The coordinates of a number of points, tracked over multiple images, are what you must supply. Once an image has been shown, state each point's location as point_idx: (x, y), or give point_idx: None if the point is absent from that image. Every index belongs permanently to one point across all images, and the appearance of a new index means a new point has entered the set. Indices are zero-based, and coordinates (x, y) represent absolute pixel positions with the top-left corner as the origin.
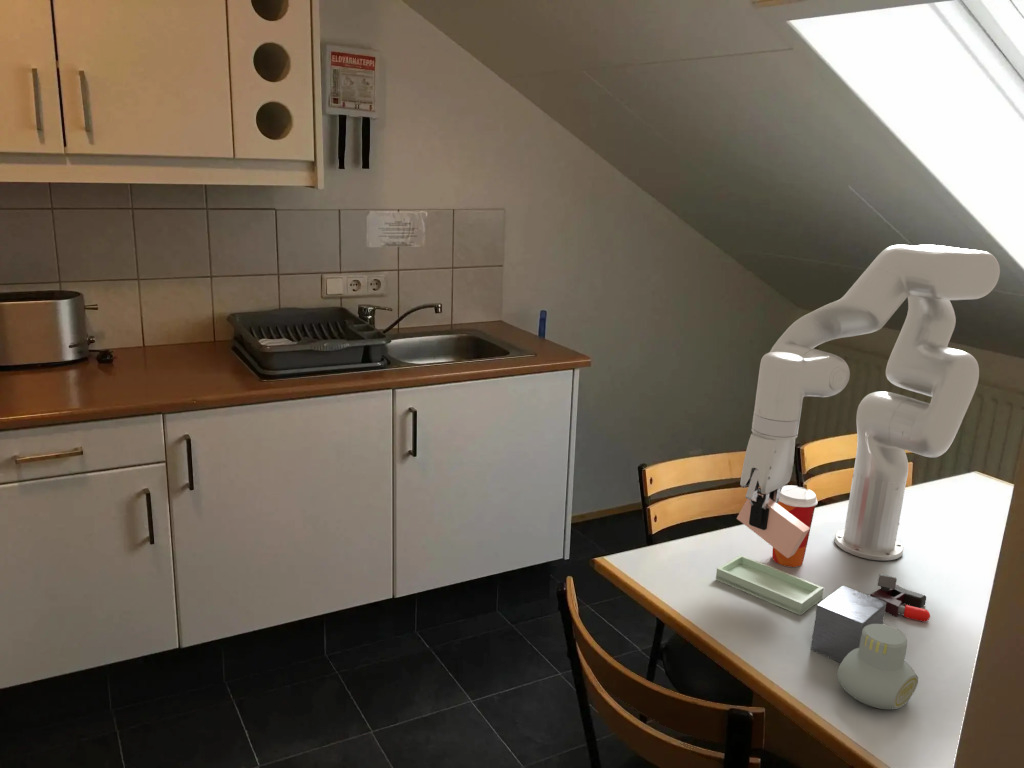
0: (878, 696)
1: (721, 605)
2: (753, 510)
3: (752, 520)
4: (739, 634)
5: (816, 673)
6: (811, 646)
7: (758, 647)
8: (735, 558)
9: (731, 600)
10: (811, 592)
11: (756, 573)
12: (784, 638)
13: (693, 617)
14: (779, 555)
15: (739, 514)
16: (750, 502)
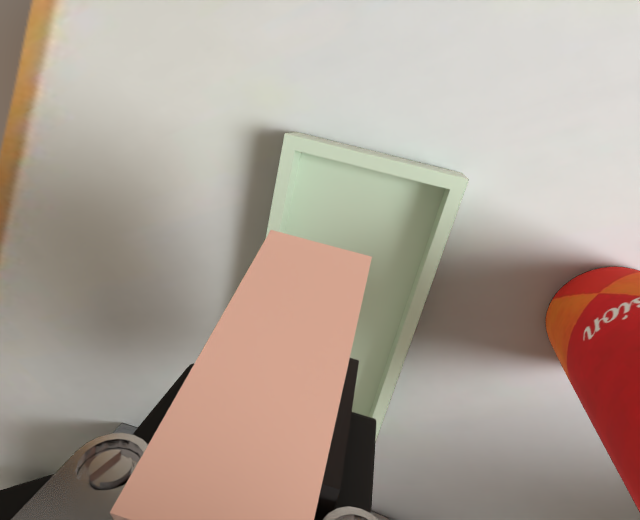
0: None
1: (155, 202)
2: (141, 424)
3: (189, 370)
4: (63, 282)
5: (55, 436)
6: (117, 429)
7: (49, 329)
8: (417, 171)
9: (201, 219)
10: (365, 415)
11: (396, 254)
12: (123, 372)
13: (43, 153)
14: (563, 312)
15: (255, 260)
16: (79, 449)
